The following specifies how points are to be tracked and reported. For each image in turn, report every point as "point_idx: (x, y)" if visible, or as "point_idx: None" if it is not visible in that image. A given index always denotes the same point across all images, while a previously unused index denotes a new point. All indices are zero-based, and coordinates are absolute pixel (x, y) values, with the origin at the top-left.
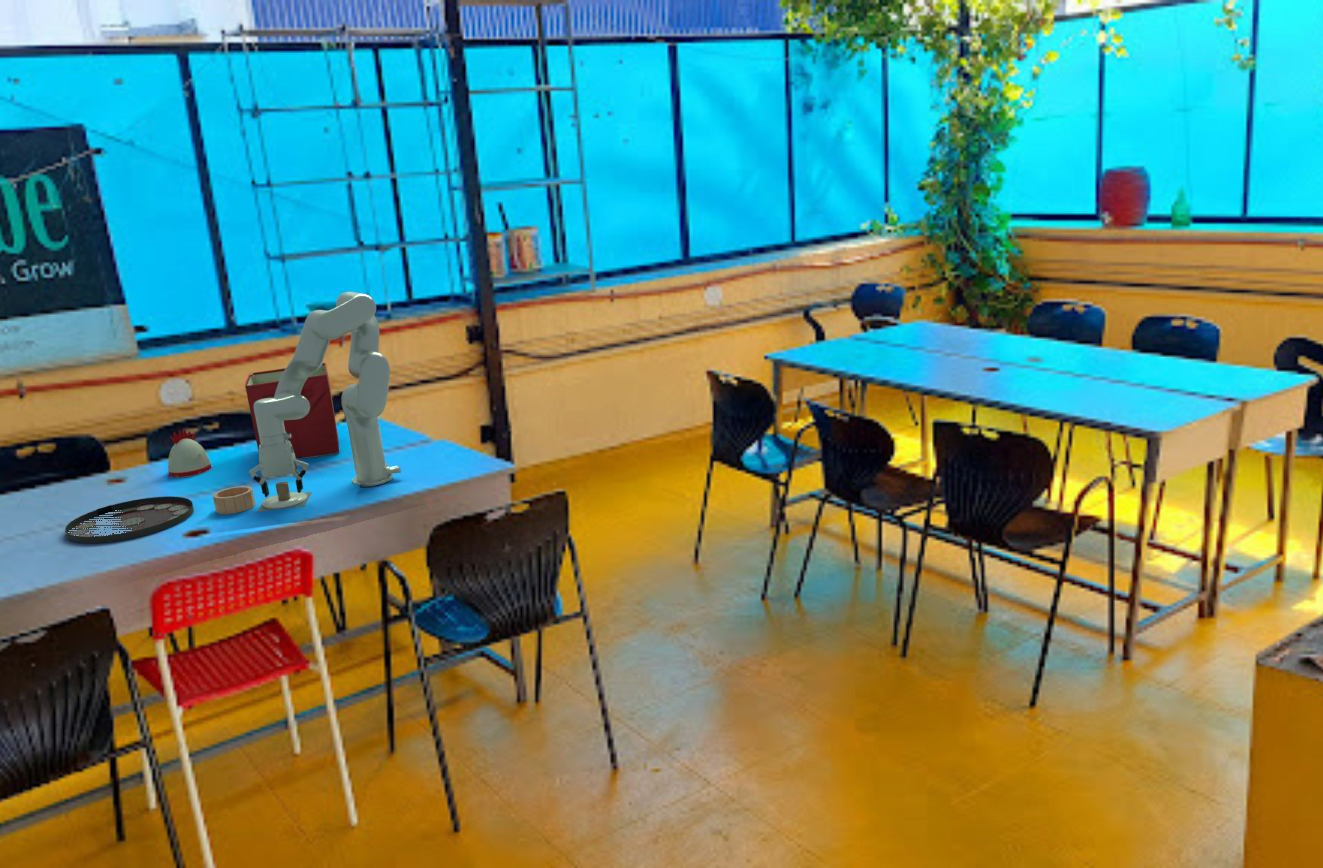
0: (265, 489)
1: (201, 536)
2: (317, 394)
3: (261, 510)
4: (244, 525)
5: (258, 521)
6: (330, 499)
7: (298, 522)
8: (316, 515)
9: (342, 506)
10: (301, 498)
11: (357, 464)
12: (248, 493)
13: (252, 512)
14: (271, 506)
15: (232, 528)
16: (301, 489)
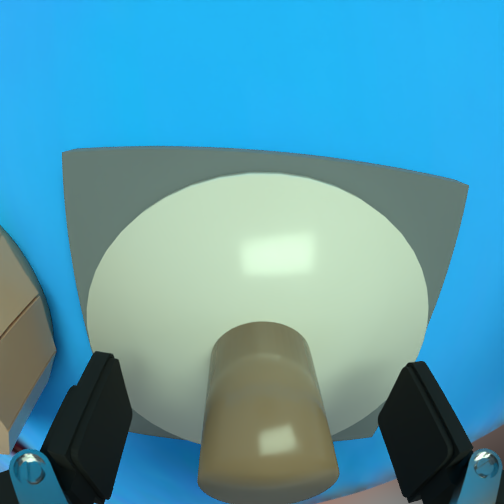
0: (114, 465)
1: None
2: None
3: (138, 426)
4: (125, 474)
5: (165, 470)
6: (495, 328)
7: (320, 499)
8: (385, 471)
9: (480, 416)
10: (380, 384)
11: None
12: (12, 432)
13: (75, 368)
14: (192, 441)
15: None
16: (420, 369)
